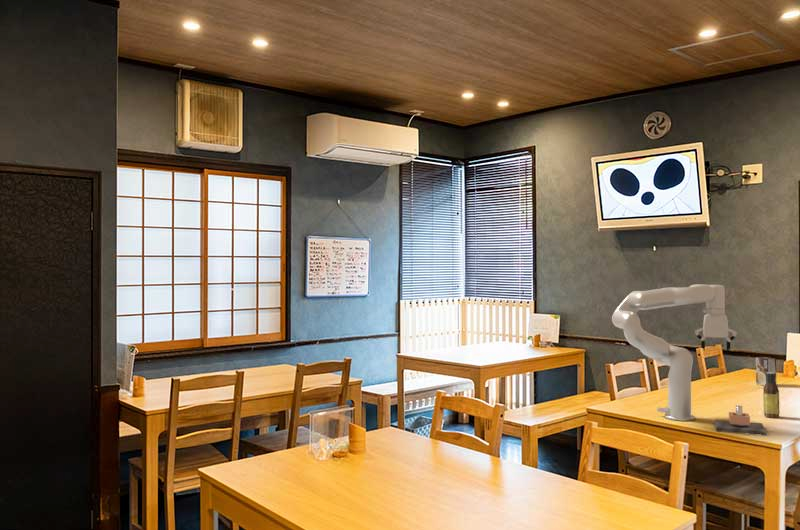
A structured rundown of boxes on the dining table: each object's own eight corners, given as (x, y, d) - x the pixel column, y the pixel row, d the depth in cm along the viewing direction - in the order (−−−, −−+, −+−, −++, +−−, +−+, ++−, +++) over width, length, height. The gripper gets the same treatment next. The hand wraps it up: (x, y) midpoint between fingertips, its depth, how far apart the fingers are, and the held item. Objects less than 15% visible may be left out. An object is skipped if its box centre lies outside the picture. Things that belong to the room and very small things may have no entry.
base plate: (716, 430, 269) (716, 427, 269) (714, 422, 284) (714, 419, 284) (765, 435, 262) (765, 431, 262) (761, 426, 276) (761, 423, 276)
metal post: (731, 426, 271) (731, 406, 271) (731, 423, 277) (730, 404, 277) (747, 427, 269) (747, 407, 269) (746, 424, 274) (746, 405, 274)
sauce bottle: (781, 418, 292) (781, 374, 292) (766, 418, 293) (766, 373, 294) (776, 415, 298) (776, 372, 299) (761, 415, 300) (761, 371, 300)
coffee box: (777, 386, 377) (776, 358, 377) (768, 387, 375) (768, 359, 375) (763, 383, 385) (763, 356, 386) (755, 384, 383) (755, 357, 384)
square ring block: (730, 423, 271) (730, 415, 271) (729, 420, 277) (728, 412, 277) (749, 425, 268) (749, 416, 268) (748, 421, 275) (748, 413, 275)
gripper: (694, 312, 295) (694, 350, 295) (737, 313, 288) (737, 352, 288) (694, 311, 302) (694, 348, 302) (736, 312, 295) (736, 350, 295)
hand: (715, 350), depth 295 cm, fingers open, 9 cm apart
